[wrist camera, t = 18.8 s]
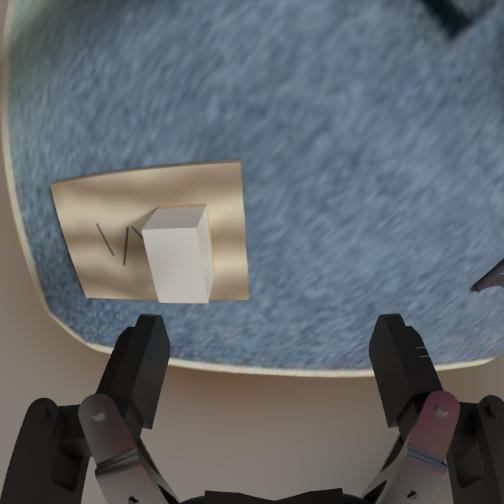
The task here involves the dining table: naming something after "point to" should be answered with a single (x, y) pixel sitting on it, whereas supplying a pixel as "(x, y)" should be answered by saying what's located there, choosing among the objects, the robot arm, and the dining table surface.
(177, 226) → the block
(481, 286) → the bracket
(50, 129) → the dining table surface
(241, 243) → the birch board
